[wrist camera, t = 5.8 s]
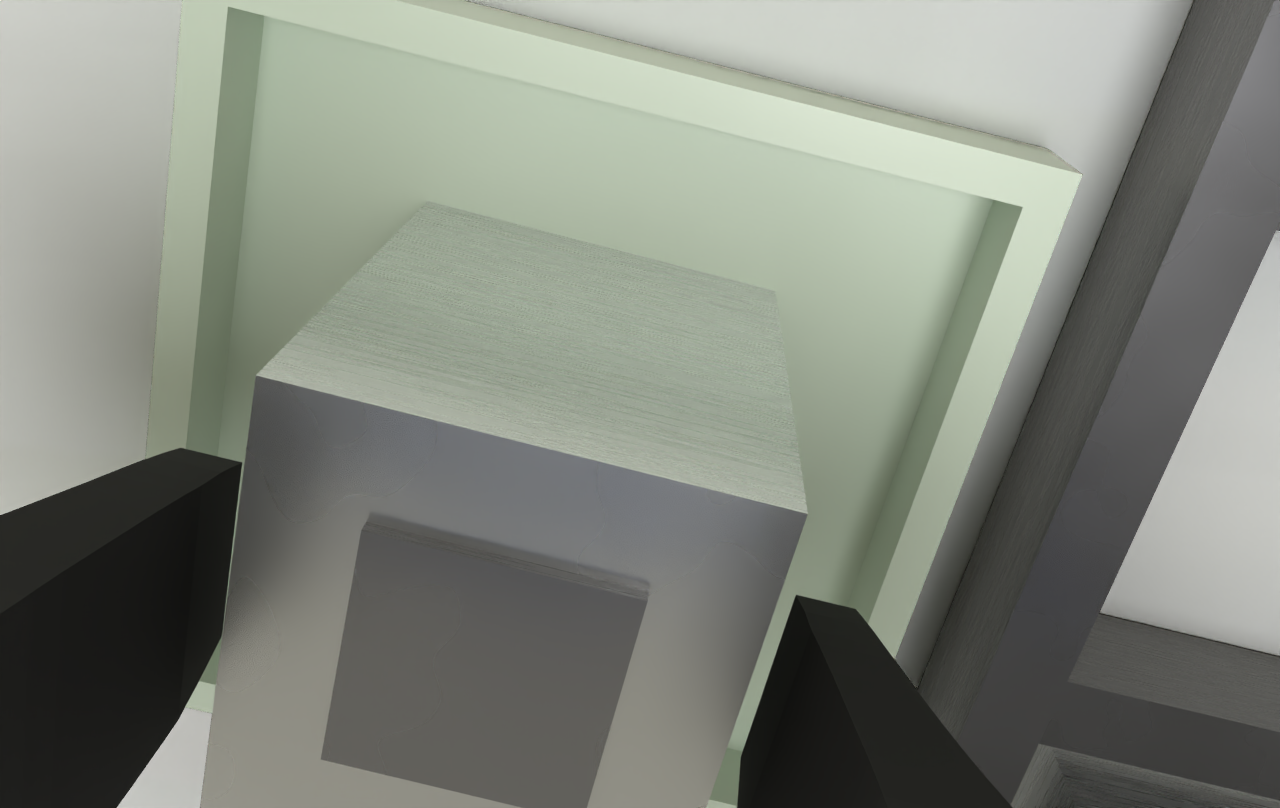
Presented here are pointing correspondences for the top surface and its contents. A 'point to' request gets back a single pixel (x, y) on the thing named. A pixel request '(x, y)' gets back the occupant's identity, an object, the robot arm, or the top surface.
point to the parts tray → (612, 240)
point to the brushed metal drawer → (1117, 786)
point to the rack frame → (1129, 455)
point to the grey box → (506, 531)
